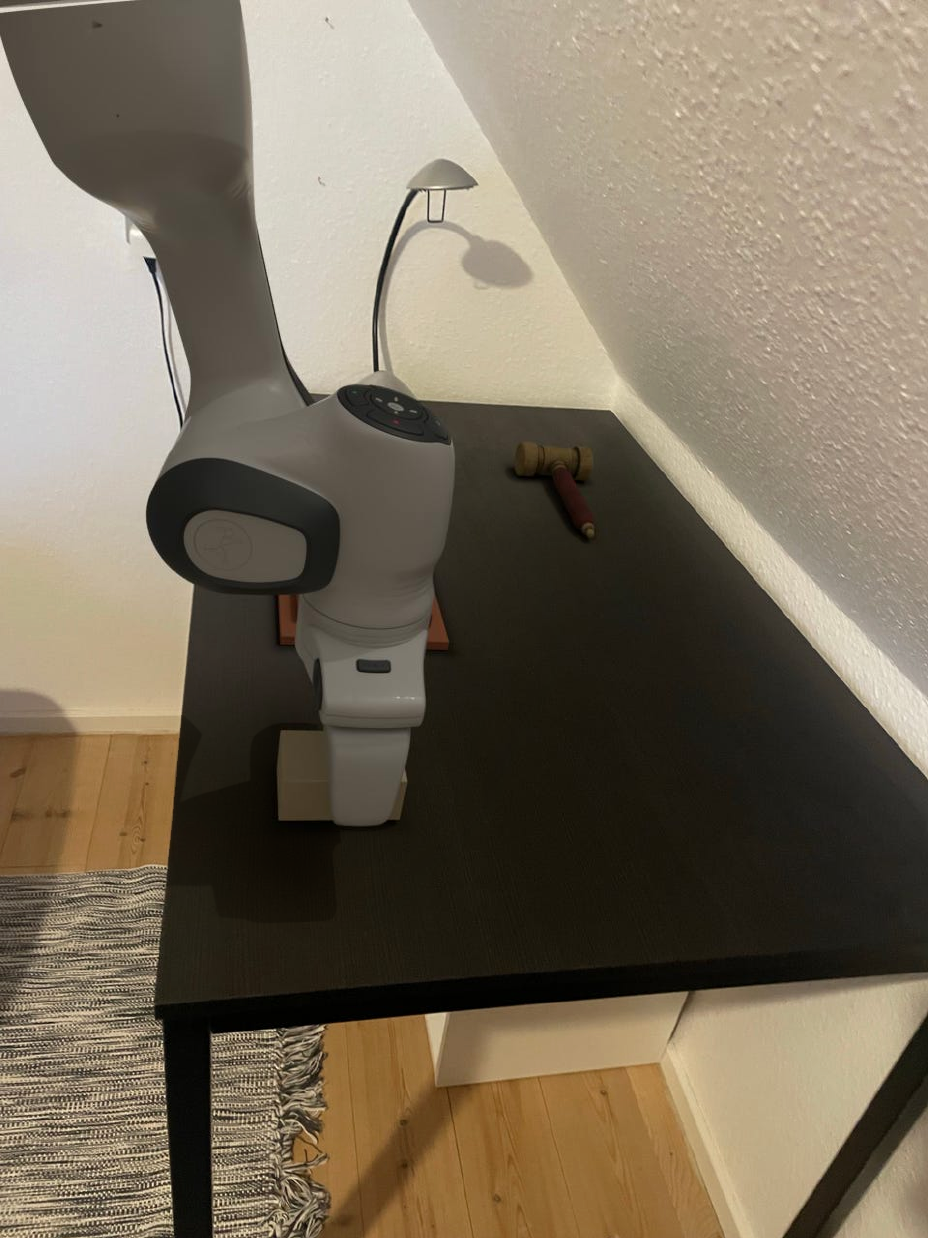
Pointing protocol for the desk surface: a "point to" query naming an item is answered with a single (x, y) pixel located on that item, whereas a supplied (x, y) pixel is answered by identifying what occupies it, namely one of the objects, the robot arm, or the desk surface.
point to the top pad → (309, 778)
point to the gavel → (561, 476)
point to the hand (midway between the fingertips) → (339, 777)
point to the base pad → (290, 611)
